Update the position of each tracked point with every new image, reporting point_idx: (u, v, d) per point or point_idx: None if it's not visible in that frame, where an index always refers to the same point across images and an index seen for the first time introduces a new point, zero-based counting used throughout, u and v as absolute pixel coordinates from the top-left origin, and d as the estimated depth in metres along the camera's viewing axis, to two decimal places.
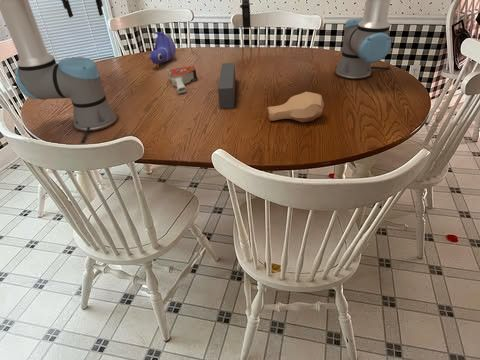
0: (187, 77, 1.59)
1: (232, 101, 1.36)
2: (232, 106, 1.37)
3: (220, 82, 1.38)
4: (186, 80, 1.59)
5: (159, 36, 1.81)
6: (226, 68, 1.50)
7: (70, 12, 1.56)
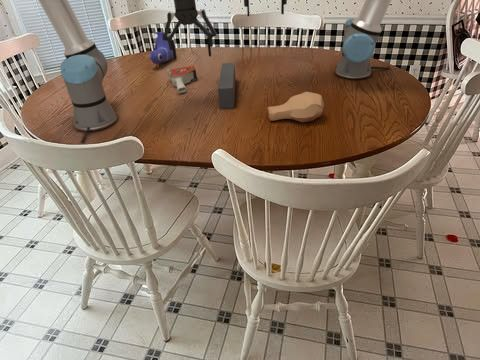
0: (187, 77, 1.59)
1: (232, 101, 1.36)
2: (232, 106, 1.37)
3: (220, 82, 1.38)
4: (186, 80, 1.59)
5: (159, 36, 1.81)
6: (226, 68, 1.50)
7: (175, 53, 1.37)
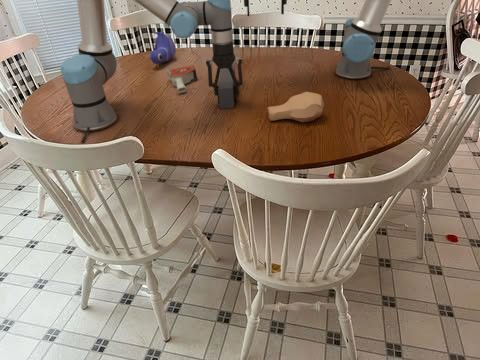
0: (187, 77, 1.59)
1: (232, 101, 1.36)
2: (232, 106, 1.37)
3: (220, 82, 1.38)
4: (186, 80, 1.59)
5: (159, 36, 1.81)
6: (226, 68, 1.50)
7: None
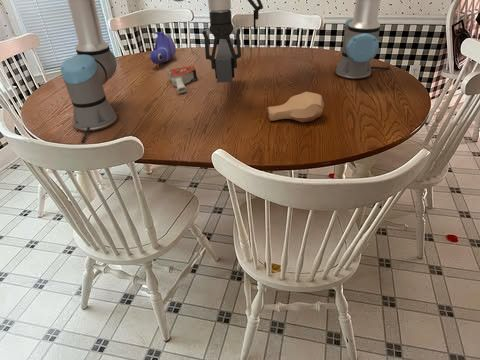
0: (187, 77, 1.59)
1: (230, 74, 1.30)
2: (230, 80, 1.31)
3: (217, 55, 1.32)
4: (186, 80, 1.59)
5: (159, 36, 1.81)
6: (224, 43, 1.44)
7: None
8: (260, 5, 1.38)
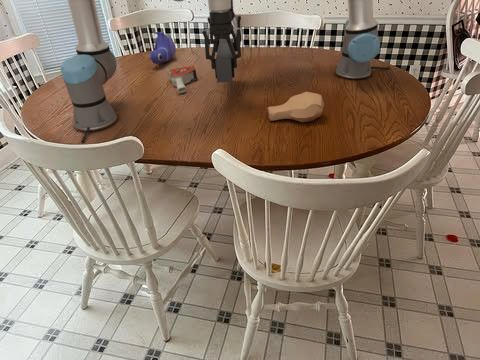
0: (187, 77, 1.59)
1: (230, 74, 1.30)
2: (230, 80, 1.31)
3: (218, 55, 1.32)
4: (186, 80, 1.59)
5: (159, 36, 1.81)
6: (224, 43, 1.44)
7: None
8: None
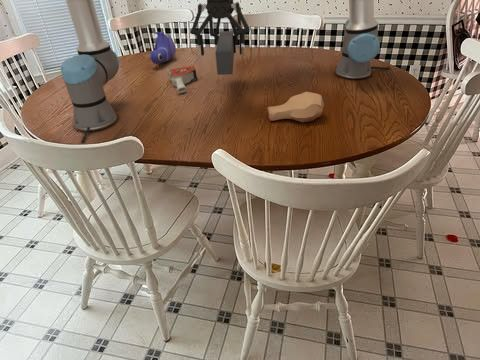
0: (187, 77, 1.59)
1: (230, 66, 1.28)
2: (230, 72, 1.29)
3: (218, 47, 1.30)
4: (186, 80, 1.59)
5: (159, 36, 1.81)
6: (224, 35, 1.43)
7: (203, 49, 1.26)
8: None
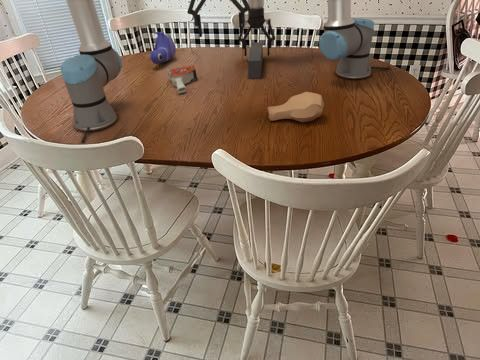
0: (187, 77, 1.59)
1: (259, 72, 1.60)
2: (259, 77, 1.61)
3: (250, 56, 1.62)
4: (186, 80, 1.59)
5: (159, 36, 1.81)
6: (255, 46, 1.74)
7: (201, 30, 1.19)
8: (273, 37, 1.73)
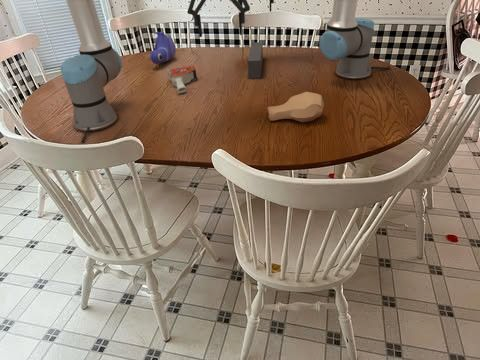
0: (187, 77, 1.59)
1: (259, 72, 1.60)
2: (259, 77, 1.61)
3: (250, 56, 1.62)
4: (186, 80, 1.59)
5: (159, 36, 1.81)
6: (255, 46, 1.74)
7: (201, 30, 1.19)
8: None
